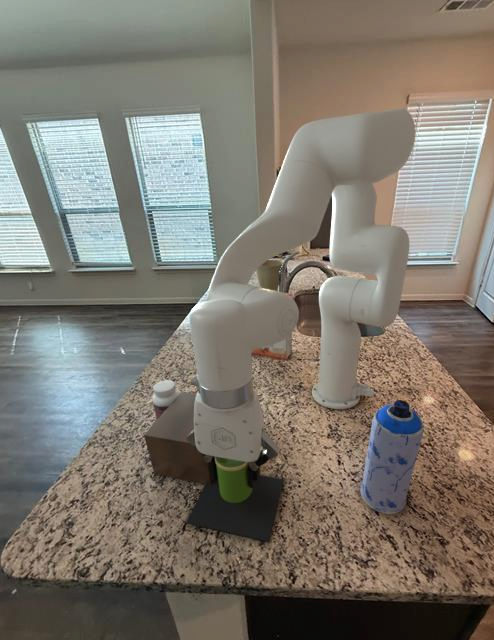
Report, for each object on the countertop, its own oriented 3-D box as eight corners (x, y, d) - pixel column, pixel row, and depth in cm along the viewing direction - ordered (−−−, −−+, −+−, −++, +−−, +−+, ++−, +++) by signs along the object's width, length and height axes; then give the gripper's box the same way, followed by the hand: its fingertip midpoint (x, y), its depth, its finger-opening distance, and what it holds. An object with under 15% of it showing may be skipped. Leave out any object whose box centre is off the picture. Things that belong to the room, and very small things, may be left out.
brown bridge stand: (236, 434, 70) (232, 398, 66) (211, 485, 58) (205, 445, 54) (187, 427, 73) (181, 391, 68) (154, 474, 61) (143, 435, 56)
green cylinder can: (257, 478, 56) (255, 444, 52) (247, 506, 51) (244, 471, 47) (226, 472, 57) (222, 439, 53) (213, 499, 52) (208, 465, 48)
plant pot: (252, 296, 162) (251, 265, 154) (258, 288, 175) (257, 259, 167) (281, 297, 159) (281, 266, 152) (285, 289, 172) (285, 260, 165)
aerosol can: (415, 509, 53) (442, 416, 44) (373, 518, 52) (392, 425, 43) (390, 473, 60) (409, 386, 51) (352, 480, 59) (365, 393, 50)
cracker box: (247, 353, 105) (243, 293, 96) (254, 346, 110) (251, 288, 101) (286, 360, 100) (286, 298, 91) (292, 352, 105) (293, 292, 96)
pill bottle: (185, 431, 72) (177, 391, 67) (157, 435, 71) (147, 395, 66) (185, 414, 77) (178, 376, 72) (159, 418, 76) (150, 380, 71)
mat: (283, 480, 59) (283, 479, 59) (268, 542, 49) (268, 541, 49) (214, 468, 62) (214, 466, 62) (186, 523, 52) (186, 522, 52)
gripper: (158, 395, 43) (178, 486, 51) (280, 412, 39) (280, 507, 47) (184, 368, 49) (198, 452, 58) (290, 380, 46) (289, 469, 54)
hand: (235, 476), depth 52 cm, fingers closed on green cylinder can, 5 cm apart
